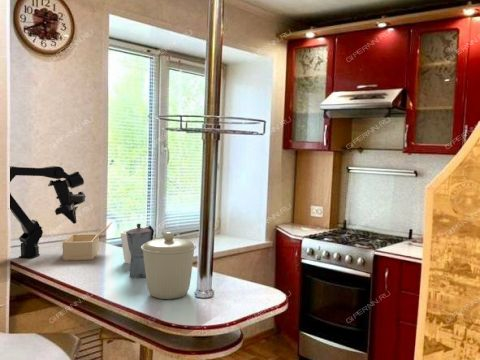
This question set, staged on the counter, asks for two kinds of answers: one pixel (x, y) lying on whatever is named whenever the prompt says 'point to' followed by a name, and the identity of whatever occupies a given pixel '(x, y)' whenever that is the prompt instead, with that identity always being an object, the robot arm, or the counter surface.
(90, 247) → the carton
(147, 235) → the moka pot
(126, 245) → the foam cup
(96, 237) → the carton flap
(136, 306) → the counter surface
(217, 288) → the counter surface
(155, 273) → the canister
